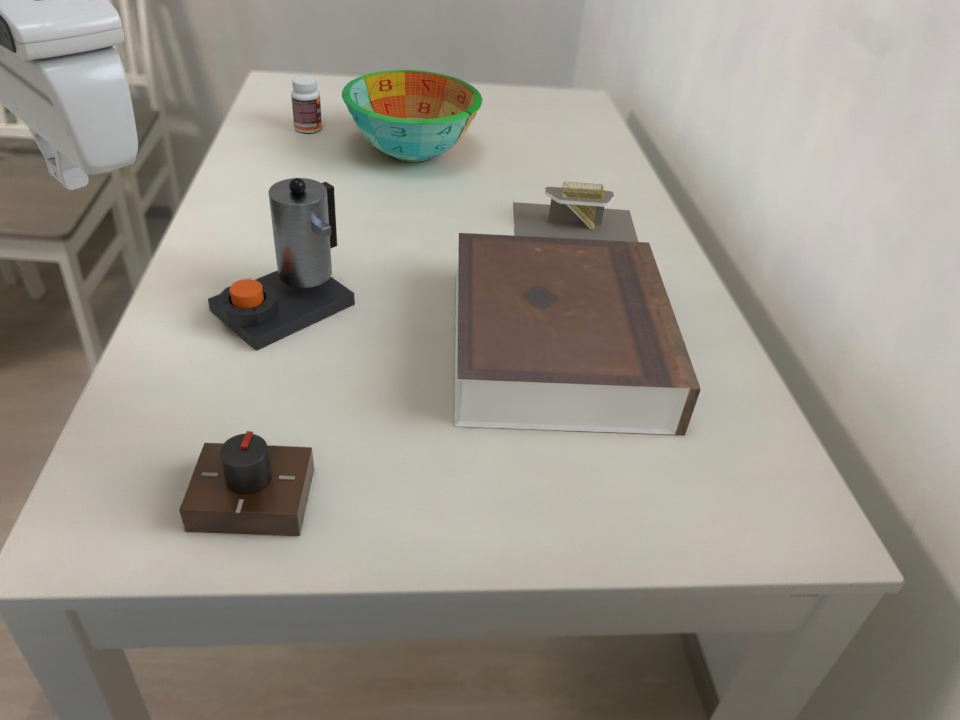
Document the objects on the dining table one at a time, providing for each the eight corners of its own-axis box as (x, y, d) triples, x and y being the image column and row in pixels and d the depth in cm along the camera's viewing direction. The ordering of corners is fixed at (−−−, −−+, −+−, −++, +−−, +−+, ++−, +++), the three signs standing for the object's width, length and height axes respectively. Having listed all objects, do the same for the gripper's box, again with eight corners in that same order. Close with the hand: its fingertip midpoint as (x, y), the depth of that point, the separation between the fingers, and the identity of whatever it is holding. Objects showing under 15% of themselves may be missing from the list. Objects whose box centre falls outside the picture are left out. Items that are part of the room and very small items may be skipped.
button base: (250, 353, 86) (246, 328, 84) (203, 312, 91) (199, 288, 89) (354, 304, 95) (354, 280, 93) (306, 269, 100) (304, 246, 98)
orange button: (242, 313, 87) (240, 300, 86) (225, 299, 89) (223, 286, 88) (270, 301, 89) (268, 289, 88) (252, 287, 91) (251, 275, 90)
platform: (641, 251, 109) (651, 210, 105) (515, 242, 109) (520, 201, 104) (629, 210, 119) (638, 171, 114) (513, 202, 118) (517, 162, 114)
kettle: (308, 301, 89) (299, 205, 81) (267, 271, 93) (255, 176, 85) (360, 278, 93) (357, 184, 85) (319, 250, 97) (312, 157, 89)
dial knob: (264, 495, 67) (259, 466, 65) (219, 491, 67) (212, 461, 65) (276, 462, 70) (272, 432, 68) (233, 457, 70) (227, 428, 68)
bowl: (316, 148, 127) (312, 88, 121) (413, 114, 141) (414, 59, 134) (409, 198, 117) (410, 135, 110) (505, 156, 130) (511, 98, 124)
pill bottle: (324, 132, 132) (322, 84, 127) (297, 135, 131) (293, 86, 125) (318, 121, 136) (315, 73, 130) (291, 123, 134) (287, 75, 129)
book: (638, 284, 103) (648, 242, 98) (685, 434, 81) (700, 389, 77) (456, 276, 101) (458, 232, 97) (454, 426, 80) (457, 379, 76)
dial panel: (184, 532, 67) (178, 509, 65) (209, 463, 74) (204, 440, 72) (299, 537, 68) (296, 514, 66) (314, 467, 74) (312, 445, 72)
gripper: (-92, -41, 54) (-25, 144, 63) (27, 41, 44) (88, 249, 53) (4, -50, 58) (54, 126, 67) (134, 23, 47) (174, 221, 56)
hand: (70, 181), depth 60 cm, fingers closed
